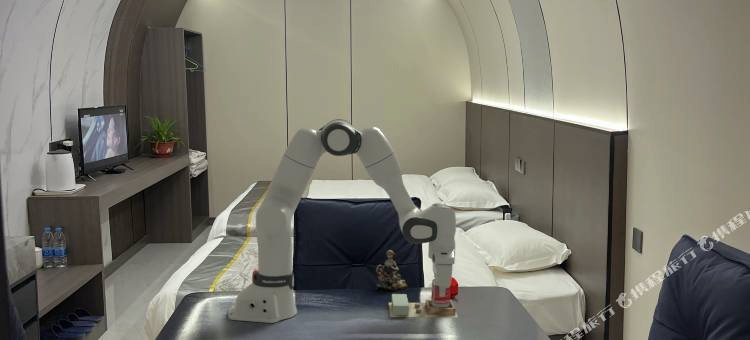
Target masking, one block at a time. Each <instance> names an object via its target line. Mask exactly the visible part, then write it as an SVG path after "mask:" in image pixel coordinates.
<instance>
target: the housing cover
mask: <svg viewBox="0 0 750 340" xmlns="http://www.w3.org/2000/svg"><path fill="white" fill-rule="evenodd" d="M407 296H408V295H407V294H406V293H402V294H401V293H392V294H391V303H392V305H393V315H409V304H408V303H409V300H408V297H407Z"/></svg>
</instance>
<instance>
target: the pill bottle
mask: <svg viewBox="0 0 750 340" xmlns="http://www.w3.org/2000/svg"><path fill="white" fill-rule="evenodd" d="M433 274H434V275H433V277H434V278H433V279H432V281H431V298H430V300H431V304H432V305H433V306H434V307H438V308H445V307H448V306H449V305H450V300H451V298H450V287H449V288H446V290H445V296H444V297H440V296H439V285H438V283H437V280H436V273H434V272H433Z"/></svg>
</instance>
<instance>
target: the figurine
mask: <svg viewBox="0 0 750 340" xmlns="http://www.w3.org/2000/svg"><path fill="white" fill-rule="evenodd" d="M385 255H386V256H387V258H388V259H387V260H385V262H384V264H383V265H382V264H378V265H377V267H376V269H375V272H376V275H377V276H376V277H377V278H378V282H379V283H378V284H377V283H376V288H375V290H376V291H391V292H393V291H394V292H395V291H409V289H408V287H409V285H408V284H407V283H406V280H405V279H402V276H401V274H400V273H398V272H399V271H400V269H399V267H398V266H397V263H396V259H397V255H396V253H395V252H394V251H393V250H392V249H389V250H387V251H386V252H385Z"/></svg>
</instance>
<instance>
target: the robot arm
mask: <svg viewBox="0 0 750 340" xmlns="http://www.w3.org/2000/svg"><path fill="white" fill-rule="evenodd" d="M325 153H328V154H329V155H332V156H335V157H344V156H348V155H349V156H350V155H353V154H356V156H357V157H358V158H359V160H360V162H361V163H362V165H363V168H364V169H365V172H366V173H367V174H368V176H369V178H371V180H372V181H373V182H374V183H375V184H376V185H377V186H378V187H381V188H382V189H383V190H384V191H385V193H386V194H387V195H388V197H389V199H390V201H391V202H392V205H393V207H394V209H395V210H396V212H397V217H398V226H399V229H400V231H401V233H402V236H403V238H404V239H405V240H406V241H407V242H408V243H410V244H411V245H419V244H421V245H422V244H425V243H428V252H427V254H428V258H429V259H430V260H431V262H432V273H433V274H434V273H436V280H437V283H438V285H439V296H440V297H444V296H445V290H446V288H449V287H450V284H451V278H452V277H453V265H455V264H456V263H455V262H456V240H455V237H456V233H457V217H456V212H455V209H454V208H452V207H451V206H450V205H447V204H444V203H437V202H436V203H435V202H434V203H433V204H431V206H429V207H427V208H425V209H421V208H420V207H418V206H417V205H415V203H414V201H413V200H412V198H411V196H410V194H409V192H408V190H407V189H406V186H405V185H404V184H405V183H404V181H403V176H402V175H403V172H402V171H403V170H402V167H401V164H400V161H399V158H398V156H397V154H396V152H395V150H394V147H393V146H392V145H391V143H390V141H389V140H388V139H387V137H386V136H385V134H384V133H383V132H382V131H381V129H380V128H379V127H376V126H367V127H364V128H362V129H356V128H354V126H353V125H352V124H351V123H350V122H349V121H347V120H345V119H341V118H337V119H332V120H330V121H329V122H328V123H326V124H325V125H323V126H322V127H321V128H320V129H318V130H316V129H315V128H310V127H303V128H302V127H301V128H299V129H298V130H297V131H296V133H294V135H293V137H292V139H291V140H290V141H289V144H288V145H287V147H286V149H285V151H284V153H283V155H282V157H281V160H280V162H279V164H278V166H277V167H276V171H274V172H275V173H274V175H273V177H272V180H271V182H270V185H269V186H268V189H267V191H266V194H265V195H264V197H263V200H262V202H261V204H260V206H259V207H258V209H257V211H256V214H255V229H256V230H255V231H256V232H255V233H256V241H257V242H256V243H257V259H258V261H257V264H258V265H257V267H258V269H253V271H252V276H251V283H250V284H249V285H247V286H246V287H245V288H243V289H242V290H241V291H240V292H239V293H238V294H237V296H236V297H235V302H234V305H231V307H230V308H229V310H228V311H227V318H228V319H229V320H231V321H232V320H233V321H245V322H255V323H266V324H267V323H269V324H273V323H274V324H275V323H277V322H279V321H282V320H287V319H289V318H292V317H294V316H296V315H297V313H298V309H297V307H296V303H295V295H294V286H295V283H294V282H295V279H294V278H295V277H294V276H295V275H294V271H293V246H292V245H293V244H292V226H291V225H292V224H291V223H292V218H293V216H294V214H295V211H296V210H297V208H298V205H299V203H300V201H301V199H302V197H303V195H304V192H305V191H306V188H307V187H308V185H309V182H310V180H311V178H312V176H313V174H314V172H315V169H316V167H317V165H318V163H319V160H320V158H321V157H322V156H323V155H324V154H325Z"/></svg>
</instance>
